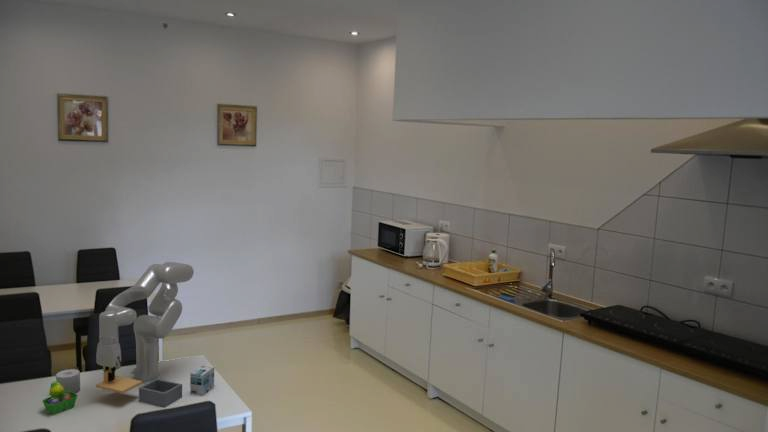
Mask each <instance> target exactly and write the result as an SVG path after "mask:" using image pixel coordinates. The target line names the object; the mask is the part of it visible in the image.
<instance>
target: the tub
mask: <svg viewBox="0 0 768 432" xmlns="http://www.w3.org/2000/svg"><path fill="white" fill-rule="evenodd" d="M155 390H156V391H155ZM166 390H168V391H167V392H165V393H164V391H166ZM160 391H161V392H160ZM181 398H183V383H179V382H176V381H175V382H174V381H169V380H165V379H162V378H161V379H155V380H153V381H151V382H149V383H144V385H141V386H139V387H138V402H141V403H146V404H150V405H153V406H157V407H162V408H167V407H168V406H170V405H171V404H172V405H173V403H175V402H176V401H178V400H180V399H181Z"/></svg>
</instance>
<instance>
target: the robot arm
mask: <svg viewBox="0 0 768 432" xmlns="http://www.w3.org/2000/svg"><path fill="white" fill-rule="evenodd" d="M194 271H195V270H194V268H193V266H192V265H191V264H189V263H183V262H182V263H181V262H176V261H175V262H174V261H167V262H163V264H161V263H153V264H151V265H150V266H148V268H147V269H146V271H144V273H143V274H142V276H140V278H139V279H138V281H136V283H135V284H134V285H132V286H131V287H129V288H127V289H126V290H124V291H122V292H120V293H118V294H117V295H116V296H115V297H114V298H113V299H112V300H111V301H110V302H109V303H108V305H107V306H106V307H105V310H104V311H103V312H100V314H99V316H98V324H99V327H98V330H99V331H98V333H99V335H98V338H99V339H98V340H99V341H98V342H97V346H96V359H95V360H96V361H95V362H96V364H97V365H99V366H100V367H101V368H102V372H104V371H106V370H109V373H108V381H109V382H110V381H112V380H114V379H115V376H116V371H117V370H119V369H122V366H121V363H122V350H121V344H120V342H119V327H123V326H129V325H131V324H133V333H134V337H135V346H136V347H135V352H136V353H135V354H136V356H135V358H136V362H135V363H136V367H133V368H132V370H131V371H130V373H131V374H133V375H134V377H133V378H132V379H134V380H138V381H142V384H147V383H149V382H151V381H153V380H155V379H161V380H162V377H163V375H162V374H161V373H160V372H159V345H158V339H159V340H160V339H162V340H163V339H164V338H165V339H166V337H168V335H169V334H170V332H171V331H172V330H173V328H174V326H175V325H176V323H178V322H177V321H178V320H179V318H180V317H181V314H182V312H183V311H182V310H183V304H182V302H181V301H180V300H178V299H177V298H176V297H177V296H178V292H179V288H178V284H181V283H187V282H188V281H190V280H191V279H192V278H193V277H194ZM160 284H161V286H160V288H159V289H158V291H157V292H156V294H155V296H154V297H153V299H152V300H151V301H150V303H149V305H148V309H147V310H148V312H149V313H150V314H151V315H149V314H142V315H139V316H138V315H137V312H136V310H135V309H133V308H130V307H126V306H127V305H129V304H131V303H133V302H137V301H142V300H145V299H148V298H149V297H151V296H152V294H153V293H154V291H155V290H156V289H157V287H158V286H159V285H160Z"/></svg>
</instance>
